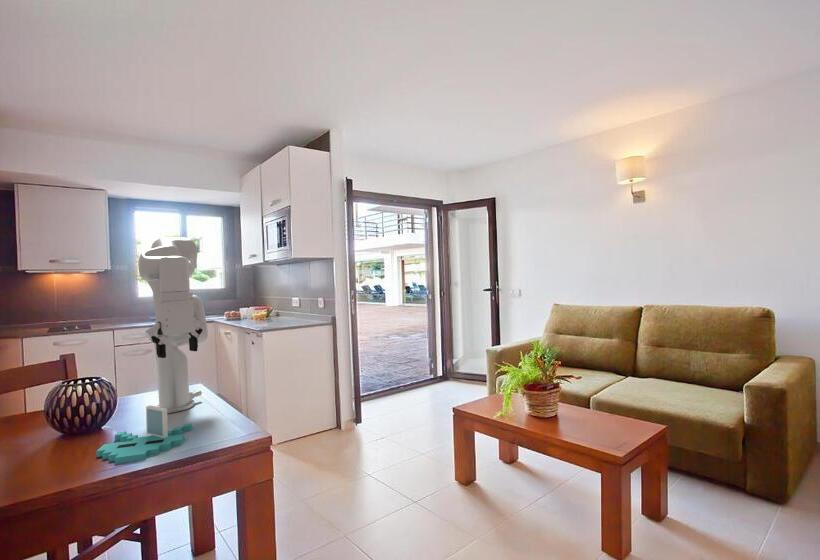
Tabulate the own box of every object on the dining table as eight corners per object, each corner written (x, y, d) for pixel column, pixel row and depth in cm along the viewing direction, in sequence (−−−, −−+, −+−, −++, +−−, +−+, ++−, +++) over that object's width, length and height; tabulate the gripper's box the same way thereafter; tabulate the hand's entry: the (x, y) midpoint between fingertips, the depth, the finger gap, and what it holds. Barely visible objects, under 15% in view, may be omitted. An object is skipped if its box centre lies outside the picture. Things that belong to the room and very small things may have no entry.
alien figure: (118, 439, 122) (84, 470, 103) (117, 432, 122) (83, 462, 103) (192, 430, 127) (173, 458, 108) (192, 423, 127) (173, 449, 108)
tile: (150, 432, 121) (149, 405, 121) (167, 436, 117) (167, 408, 117) (146, 434, 120) (145, 406, 120) (163, 438, 116) (162, 409, 116)
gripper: (194, 295, 133) (197, 347, 134) (137, 299, 118) (141, 359, 119) (209, 295, 129) (212, 349, 130) (152, 300, 114) (155, 361, 115)
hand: (178, 354), depth 124 cm, fingers open, 9 cm apart
